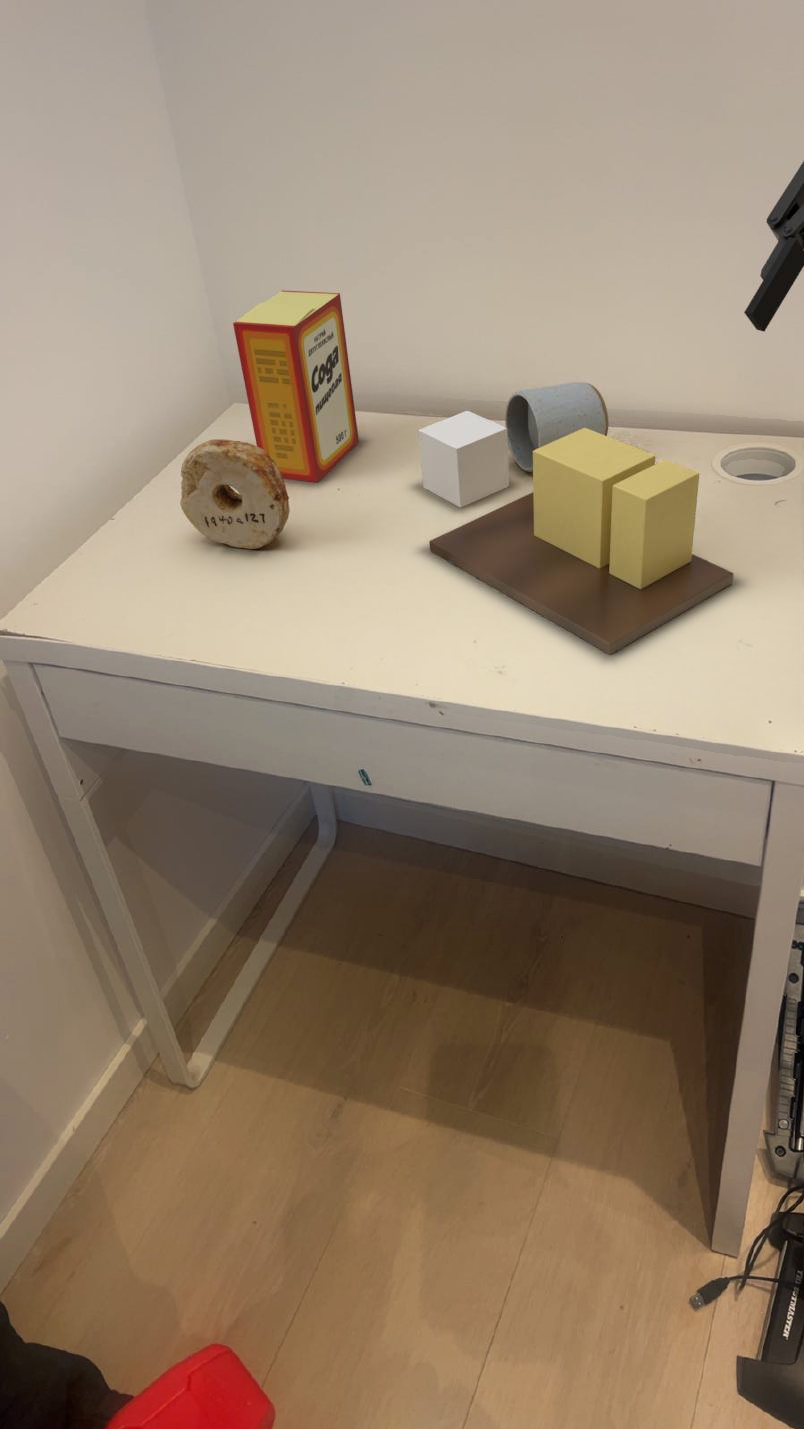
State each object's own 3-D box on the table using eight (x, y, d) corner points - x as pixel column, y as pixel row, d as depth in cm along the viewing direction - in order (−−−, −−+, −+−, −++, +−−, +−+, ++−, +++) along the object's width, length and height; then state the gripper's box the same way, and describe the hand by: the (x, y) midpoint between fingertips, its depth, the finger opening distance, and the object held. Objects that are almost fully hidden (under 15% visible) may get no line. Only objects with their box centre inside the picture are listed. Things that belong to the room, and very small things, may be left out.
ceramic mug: (613, 462, 102) (615, 386, 97) (539, 484, 100) (538, 407, 95) (559, 427, 110) (559, 355, 105) (490, 445, 108) (486, 373, 103)
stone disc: (303, 536, 97) (286, 436, 90) (286, 557, 94) (267, 454, 88) (207, 525, 100) (183, 428, 94) (187, 545, 98) (162, 445, 91)
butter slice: (691, 561, 85) (700, 472, 80) (640, 590, 83) (646, 499, 78) (659, 546, 88) (665, 458, 83) (608, 573, 85) (612, 485, 80)
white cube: (470, 467, 105) (467, 410, 101) (509, 486, 101) (507, 428, 97) (422, 487, 102) (417, 429, 98) (460, 508, 98) (456, 448, 94)
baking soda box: (306, 436, 114) (281, 286, 104) (358, 442, 111) (339, 289, 101) (262, 475, 107) (232, 319, 97) (317, 482, 105) (292, 323, 95)
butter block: (650, 542, 88) (655, 455, 83) (599, 569, 86) (602, 481, 81) (583, 511, 93) (584, 427, 88) (533, 535, 91) (532, 450, 86)
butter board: (732, 583, 84) (734, 572, 83) (610, 655, 78) (610, 644, 78) (545, 495, 98) (545, 486, 98) (429, 550, 93) (429, 540, 92)
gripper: (1092, 93, 75) (909, 383, 78) (861, 77, 87) (712, 329, 90) (1077, 16, 69) (881, 333, 73) (833, 11, 81) (675, 282, 85)
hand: (788, 330), depth 82 cm, fingers open, 6 cm apart
